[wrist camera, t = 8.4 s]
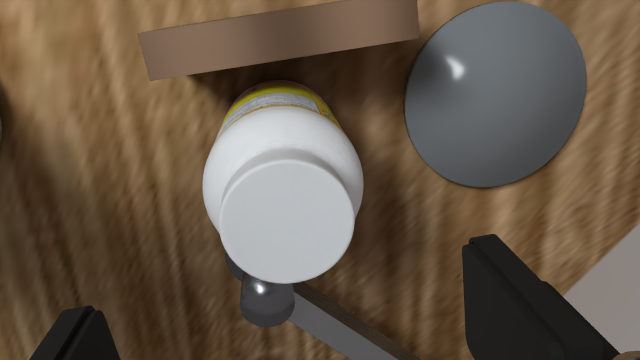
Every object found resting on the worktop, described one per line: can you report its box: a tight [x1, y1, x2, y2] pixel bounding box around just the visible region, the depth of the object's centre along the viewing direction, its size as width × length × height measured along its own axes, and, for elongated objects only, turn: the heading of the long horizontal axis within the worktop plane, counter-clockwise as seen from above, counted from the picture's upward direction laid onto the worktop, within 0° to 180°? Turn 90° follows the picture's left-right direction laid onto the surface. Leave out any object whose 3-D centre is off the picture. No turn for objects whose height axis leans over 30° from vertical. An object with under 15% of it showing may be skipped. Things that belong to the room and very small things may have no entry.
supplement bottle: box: [203, 80, 363, 284], centre depth 22 cm, size 7×7×13 cm
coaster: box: [404, 1, 586, 187], centre depth 28 cm, size 11×11×1 cm
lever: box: [225, 250, 421, 360], centre depth 29 cm, size 18×5×7 cm, turn 50°
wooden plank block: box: [137, 0, 419, 81], centre depth 23 cm, size 12×2×6 cm, turn 98°
